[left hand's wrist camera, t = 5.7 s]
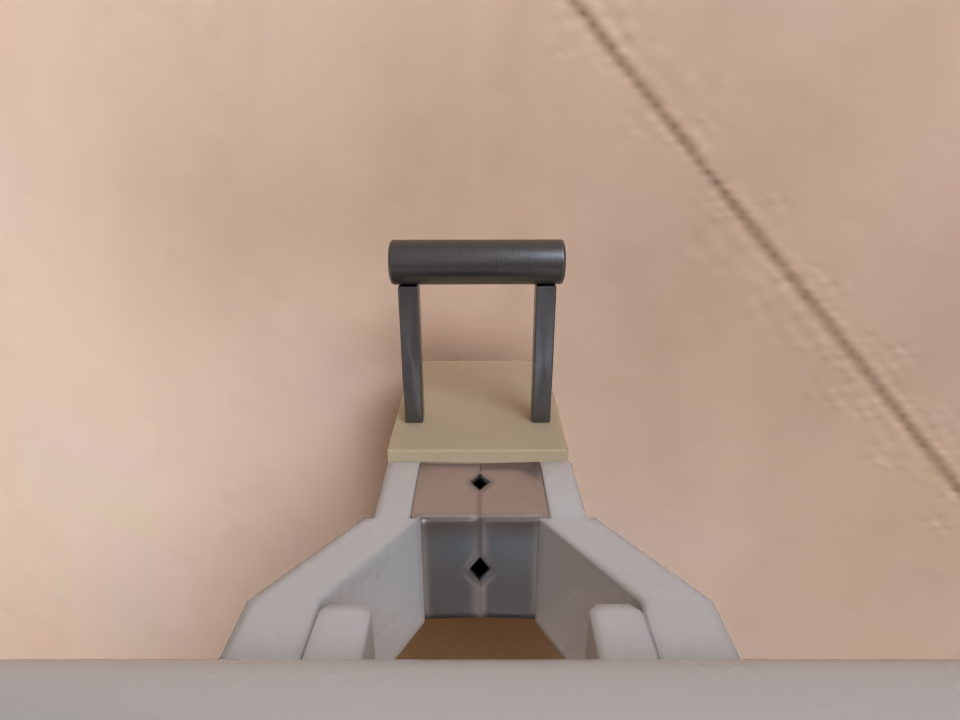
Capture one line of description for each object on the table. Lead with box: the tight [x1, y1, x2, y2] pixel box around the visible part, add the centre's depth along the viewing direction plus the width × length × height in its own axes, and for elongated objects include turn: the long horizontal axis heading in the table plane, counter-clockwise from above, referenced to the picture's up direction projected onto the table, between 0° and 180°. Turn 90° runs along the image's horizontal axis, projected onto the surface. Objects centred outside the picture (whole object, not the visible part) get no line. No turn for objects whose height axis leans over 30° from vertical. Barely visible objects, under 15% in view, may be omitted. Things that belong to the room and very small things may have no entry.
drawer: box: [387, 240, 568, 464], centre depth 23 cm, size 22×5×7 cm, turn 0°
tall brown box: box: [396, 617, 565, 659], centre depth 26 cm, size 18×7×9 cm, turn 0°
